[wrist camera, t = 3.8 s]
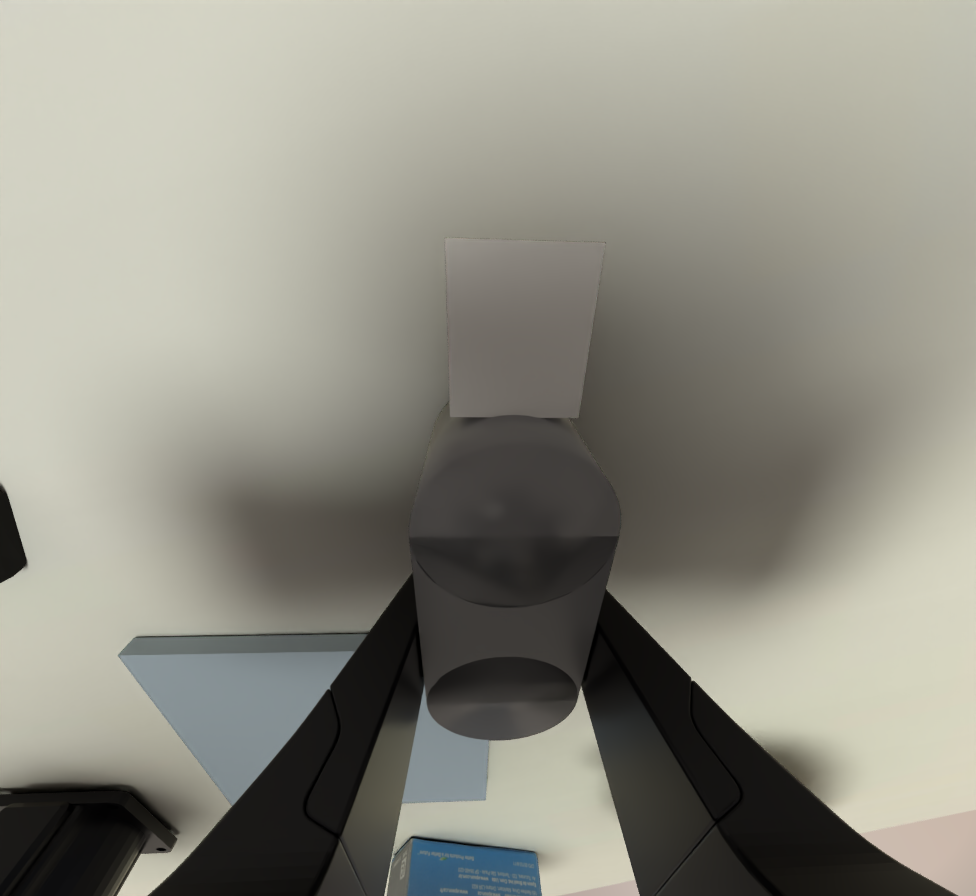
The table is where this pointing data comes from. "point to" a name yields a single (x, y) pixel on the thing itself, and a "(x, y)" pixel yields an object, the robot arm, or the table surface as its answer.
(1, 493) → the electric trimmer
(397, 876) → the label tape box
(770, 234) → the table surface
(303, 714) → the rubber mat
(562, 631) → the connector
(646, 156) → the table surface
